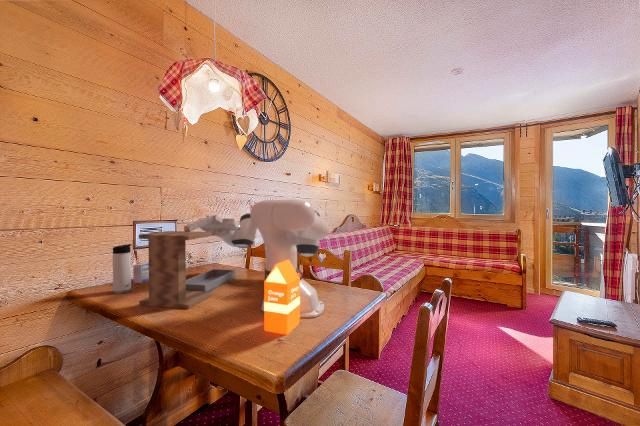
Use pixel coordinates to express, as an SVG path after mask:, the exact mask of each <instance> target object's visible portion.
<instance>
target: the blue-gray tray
mask: <svg viewBox="0 0 640 426" xmlns="http://www.w3.org/2000/svg"><path fill="white" fill-rule="evenodd" d="M236 278H237V270H236V269H224V268H223V269H220V268H218V269H217V268H212V269H210V270H208V271H205V272H202V273H200V274H198V275H197V274H196V275H195V276H192V277H190V278H187V279H186V290H189V291H206V292H213V291H214V290H216V289H218V288H219V287H221V286H223V285H225V284H226V283H228V282H230V281H232V280H234V279H236Z"/></svg>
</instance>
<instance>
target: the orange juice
mask: <svg viewBox="0 0 640 426" xmlns="http://www.w3.org/2000/svg"><path fill="white" fill-rule="evenodd" d="M263 282H264V283H263V285H264V295H263V300H264V312H263V313H264V316H263V317H264V318H263V319H264V322H263V323H264V325H263V326H264V328H263V329H264V330H263V331H265V332H270V333H274V334H281V335H289V334H290V333H291V332H292V331H293V330H294V329H295V328H296V327H297V326H299V324H300V319H301V317H300V277H299V276H298V274H297V272H296V271H295V269H294V267H293V266H292V264H291V262H290V261H289V259H288V260H285V261H283V262H280V263H278V264H276V265H275V266H274V268H273V269H272V271H271V273H270V274H269V276H268V277H267V279H266V280H264V281H263Z"/></svg>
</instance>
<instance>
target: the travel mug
mask: <svg viewBox="0 0 640 426" xmlns="http://www.w3.org/2000/svg"><path fill="white" fill-rule="evenodd" d="M132 245H133V244H132V243H128V244H121V245H117V246H116V245H115V246H114V247H112V293H113V294H117V295H118V294H119V295H121V294H125V293H129V292H131V291H132V262H131V261H132V259H131V258H132V257H131V256H132V255H131V254H132V251H131V247H132Z"/></svg>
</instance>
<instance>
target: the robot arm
mask: <svg viewBox="0 0 640 426" xmlns="http://www.w3.org/2000/svg"><path fill="white" fill-rule="evenodd" d="M209 216H210V215H206V216H205V218H206V217H209ZM203 218H204V217H199V219H198V220H201V219H203ZM213 219H214V220H216V221H214V222H211V223H209V224H207V225H204V226H202V227H200V228H199V229H200V230H202V232H212V236H213V237H217V238H220V239H221V240H223V242H224V243H226V244H227V245H228V246H231V247H233V248H240V249H247V248H249V247H251V246H253V245H254V242H255V239H256V235H257V230H258V231H259V233H260V236H261V237H262V241H263V244H264V249H265V250H264V251H265V269H264V275H263V277H264V281H265V280H266V279H267V277H268V276H269V274H270V273H271V271H272V269H273V268H274V266H275V265H276V264H278V263H280V262H283V261H285V260H288V259H289V261H290V262H291V264H292V266H293V267H294V269H295V271H296V272H297V274H298V276H299V277H300V318H317V317H318V316H320V315H322V314H323V312H324V310H325V304H324V302H323V301H322V300H319V298H318V297H319V296H318V292H317V289H316V288H315V287H313V285H311V284H309V283H308V282H307V281H305V280H304V279H303V273H304V270H303V269H301V270H300V269H299V268H298V254H299V255H300V256H303V257H307V258H308V257H312V256H316V254H318V251H319V249H320V246H319V245H320V241H323V240H324V239H325V238H326V237H327V236H328V235H329V232H330V228H329V224H328V222H327V221H326V220H325V219H324V218H322V217H321V215H320V213H319V212H318V211H317V210H315V209H314V206H313V205H312V204H311V203H310V202H308V201H304V200H301V199H265V200H262V201H258V202H255V203H254V204H253V205H252V206H251V209H250V213H249V212H247V213H245V214H243V215H241V216H240V218H239V221H238V220H237V219H236V218H222V217H220V216H219V215H217V216H214V217H213ZM261 304H262V305H261V311H263V313H264V299H263V300H262V303H261Z"/></svg>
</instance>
